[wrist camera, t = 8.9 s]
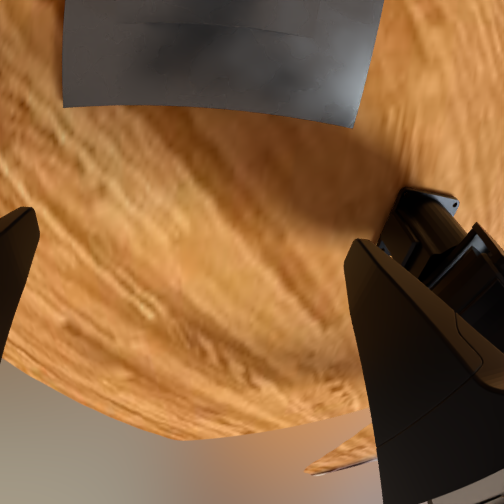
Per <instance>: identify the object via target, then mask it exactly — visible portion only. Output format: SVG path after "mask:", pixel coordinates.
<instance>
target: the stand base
mask: <svg viewBox="0 0 504 504" xmlns="http://www.w3.org/2000/svg"><path fill="white" fill-rule="evenodd" d="M383 3H384V0H65V11H64V25H63V48H62V86H63V108H69V107H84V106H108V105H163V106H188V107H204V108H217V109H229V110H239V111H248V112H257V113H265V114H272V115H280V116H287V117H293V118H299V119H305V120H311V121H317V122H322V123H328V124H333V125H338V126H343V127H348V128H352V129H353V126H354V123H355V119H356V115H357V112H358V108H359V104H360V100H361V97H362V93H363V89H364V85H365V81H366V77H367V73H368V69H369V65H370V61H371V57H372V53H373V48H374V44H375V40H376V35H377V31H378V26H379V22H380V17H381V12H382V8H383Z"/></svg>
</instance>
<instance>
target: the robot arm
mask: <svg viewBox="0 0 504 504" xmlns="http://www.w3.org/2000/svg"><path fill="white" fill-rule="evenodd" d="M405 193H407V194H406V195H404V194H405ZM458 206H459V201H458V200H457V199H456V198H454V197H450V196H446V195H441V194H437V193H433V192H428V191H423V190H419V189H414V188H409V187H404V188H402V189H401V190H400V192H399V194H398V197H397V199H396V202H395V204H394V206H393V209H392V211H391V213H390V215H389V218H388V220H387V222H386V225H385V227H384V229H383V231H382V234H381V236H380V239H379V241H378V243H377V245H375V244H374V243H372V242H371V241H370V240H367V239H359V238H357V239H355V240H354V241H353V243H352V245H351V247H350V250H349V252H348V254H347V256H346V258H345V261H344V274H345V281H346V288H347V295H348V303H349V310H350V315H351V320H352V324H353V329H354V333H355V337H356V342H357V346H358V351H359V356H360V360H361V365H362V370H363V375H364V380H365V385H366V390H367V396H368V401H369V407H370V412H371V418H372V424H373V430H374V436H375V443H376V447H377V448H376V450H377V457H378V464H379V471H380V480H381V488H382V496H383V504H420V503H423V502H426V501H429V500H432V502H433V504H504V251H503V249H502V248H501V247H500V246H499V245H498V244H497V242H496V241H495V240H494V239H493V238H492V237H491V236H490V235H489V234H488V233H487V232H486V231H485V230H484V229H483V228H482V227H481V226H480V225H479V224H478V223H477V222H476V223H475V224H474V225H473V226H472V229H471V230H470V232H469V233H468V234H467V233H466V232H465V230H464V229H463V228H462V227H461V226H460V224H459V223H458V222H457V221H456V220H455V218H454V215H455V213H456V210H457V208H458ZM39 238H40V231H39V226H38V222H37V218H36V213H35V210H34V209H33V208H32V207H19V208H17V209H16V210H14V211H12V212H10V213H9V214H7V215H5V216H3V217H2V218H0V362H1V359H2V355H3V351H4V348H5V344H6V341H7V337H8V334H9V331H10V327H11V324H12V321H13V318H14V315H15V312H16V309H17V306H18V303H19V301H20V298H21V295H22V292H23V290H24V287H25V284H26V281H27V277H28V274H29V271H30V267H31V264H32V261H33V257H34V254H35V251H36V248H37V245H38V242H39ZM390 256H392V258H393V259H392V258H391V257H390Z"/></svg>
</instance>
